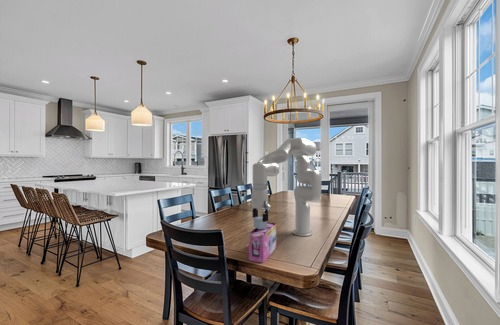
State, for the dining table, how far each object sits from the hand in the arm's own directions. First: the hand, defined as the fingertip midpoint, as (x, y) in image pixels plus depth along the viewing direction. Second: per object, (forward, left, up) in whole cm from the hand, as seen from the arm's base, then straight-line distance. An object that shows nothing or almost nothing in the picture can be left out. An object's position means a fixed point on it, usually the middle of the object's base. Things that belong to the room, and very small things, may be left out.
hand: (260, 219), depth 126 cm
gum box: (+1, +2, -18) cm, 18 cm away
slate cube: (+1, 0, -4) cm, 4 cm away
